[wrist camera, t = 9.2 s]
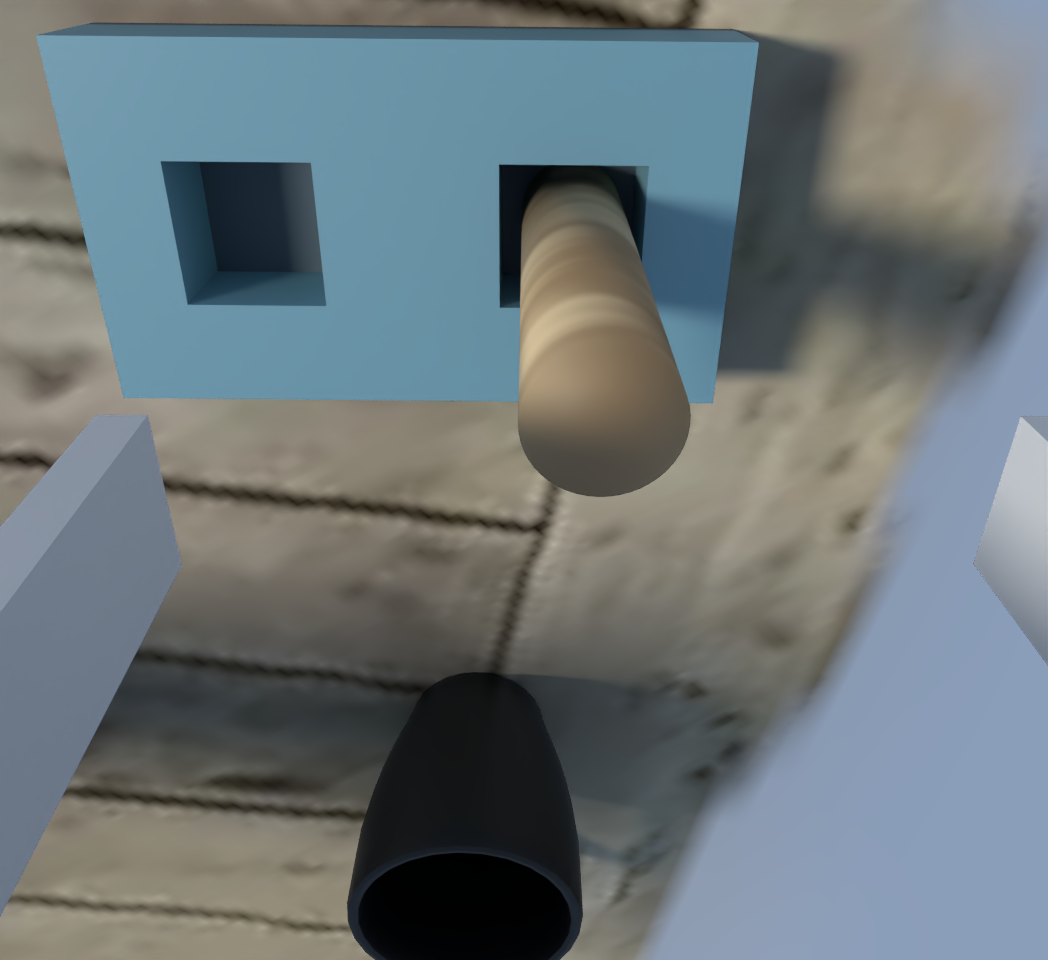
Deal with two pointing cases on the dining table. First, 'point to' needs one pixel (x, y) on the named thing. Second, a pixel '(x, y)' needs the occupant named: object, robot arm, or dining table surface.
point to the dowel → (592, 343)
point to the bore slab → (382, 194)
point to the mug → (469, 834)
